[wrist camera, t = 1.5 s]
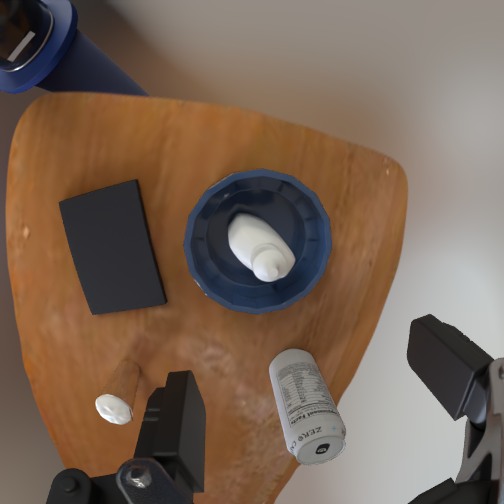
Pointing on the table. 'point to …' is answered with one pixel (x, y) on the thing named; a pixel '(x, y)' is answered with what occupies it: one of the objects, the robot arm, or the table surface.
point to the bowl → (279, 218)
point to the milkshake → (119, 393)
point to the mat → (113, 249)
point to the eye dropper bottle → (259, 247)
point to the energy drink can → (306, 408)
